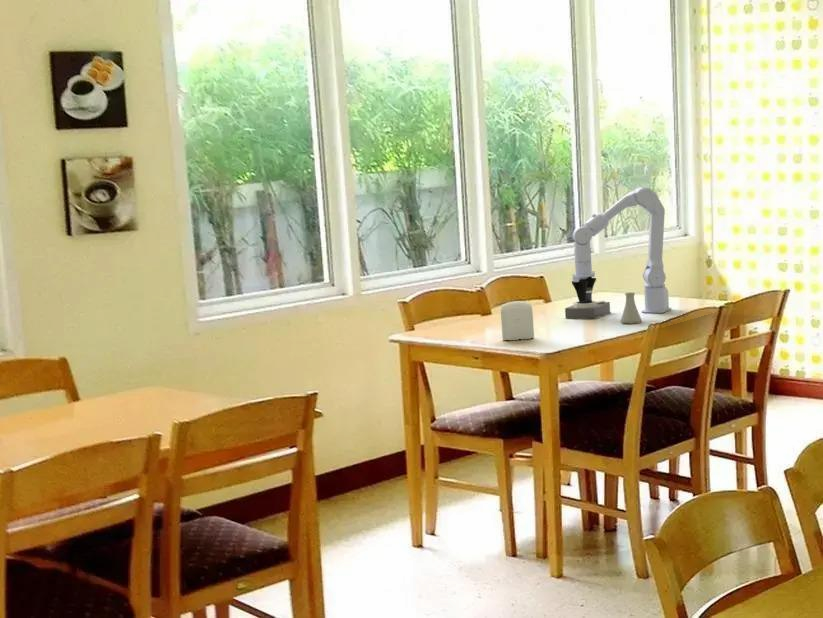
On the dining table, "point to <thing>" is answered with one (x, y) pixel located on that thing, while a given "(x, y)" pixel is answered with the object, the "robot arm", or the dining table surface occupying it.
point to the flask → (630, 310)
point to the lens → (587, 296)
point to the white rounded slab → (517, 321)
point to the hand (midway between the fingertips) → (584, 299)
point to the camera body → (587, 310)
